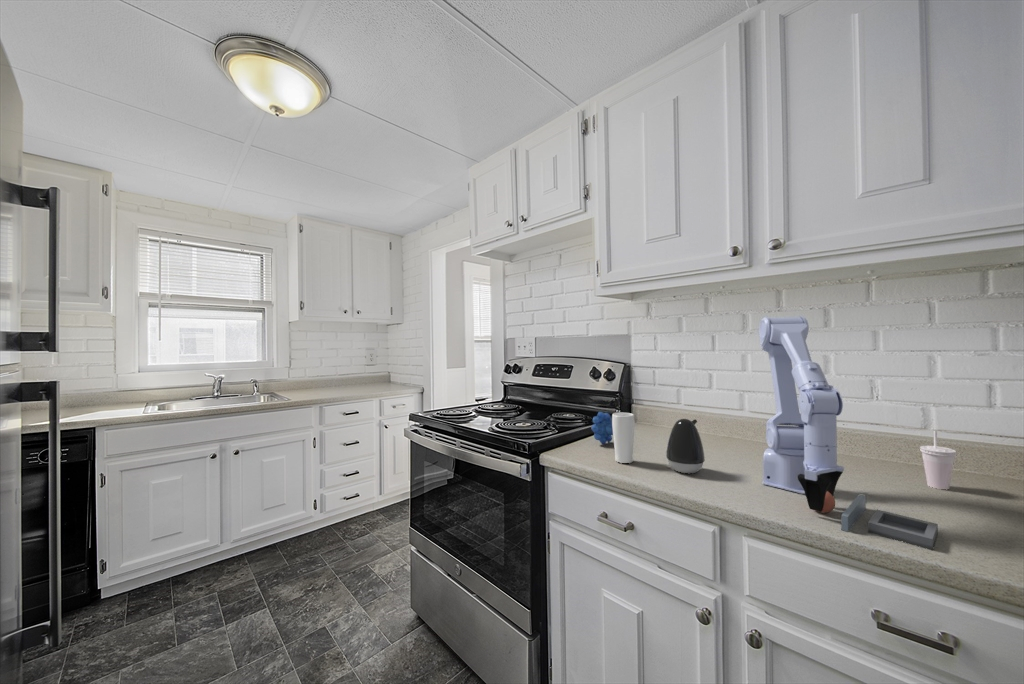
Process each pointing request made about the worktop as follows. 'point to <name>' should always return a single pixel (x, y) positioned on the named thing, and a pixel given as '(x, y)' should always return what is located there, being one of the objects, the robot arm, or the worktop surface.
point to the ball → (828, 503)
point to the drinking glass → (623, 436)
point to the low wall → (853, 512)
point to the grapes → (602, 427)
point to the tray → (903, 529)
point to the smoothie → (938, 464)
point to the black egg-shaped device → (685, 447)
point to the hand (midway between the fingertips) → (820, 505)
